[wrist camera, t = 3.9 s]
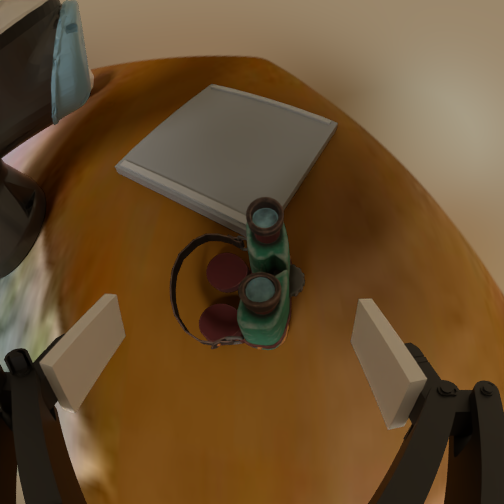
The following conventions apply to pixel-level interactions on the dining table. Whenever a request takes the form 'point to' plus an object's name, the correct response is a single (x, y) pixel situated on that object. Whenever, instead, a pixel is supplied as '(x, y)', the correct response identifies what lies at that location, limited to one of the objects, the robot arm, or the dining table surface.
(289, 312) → the binoculars
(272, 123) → the slate board
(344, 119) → the dining table surface
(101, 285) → the dining table surface
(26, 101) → the robot arm
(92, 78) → the geometric ball
